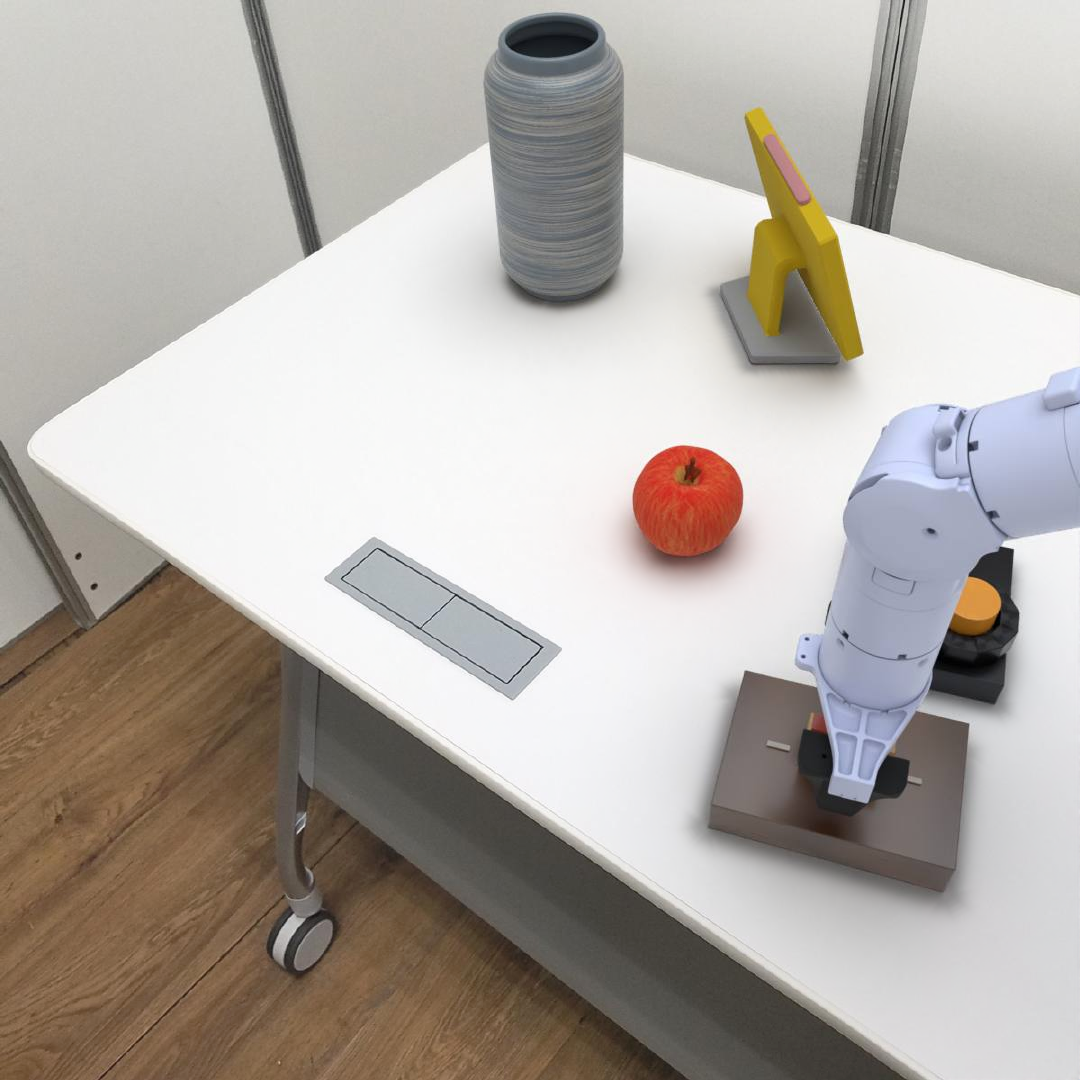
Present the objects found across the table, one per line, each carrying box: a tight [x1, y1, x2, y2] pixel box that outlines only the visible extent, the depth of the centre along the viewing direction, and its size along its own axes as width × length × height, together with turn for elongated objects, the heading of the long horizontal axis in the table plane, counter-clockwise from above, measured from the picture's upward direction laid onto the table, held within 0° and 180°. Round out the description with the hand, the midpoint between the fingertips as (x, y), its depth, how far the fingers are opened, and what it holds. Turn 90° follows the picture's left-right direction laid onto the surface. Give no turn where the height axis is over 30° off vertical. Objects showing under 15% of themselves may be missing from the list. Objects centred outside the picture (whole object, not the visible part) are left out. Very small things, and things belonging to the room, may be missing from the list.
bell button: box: [948, 577, 1001, 636], centre depth 72 cm, size 4×4×2 cm
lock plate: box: [707, 669, 970, 893], centre depth 67 cm, size 14×10×3 cm
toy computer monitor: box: [719, 106, 865, 364], centre depth 93 cm, size 20×8×16 cm, turn 9°
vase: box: [482, 11, 625, 302], centre depth 97 cm, size 12×12×23 cm
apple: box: [631, 444, 744, 557], centre depth 80 cm, size 8×8×8 cm
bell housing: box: [929, 545, 1020, 705], centre depth 75 cm, size 10×12×4 cm
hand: (845, 751), depth 65 cm, fingers open, 7 cm apart
